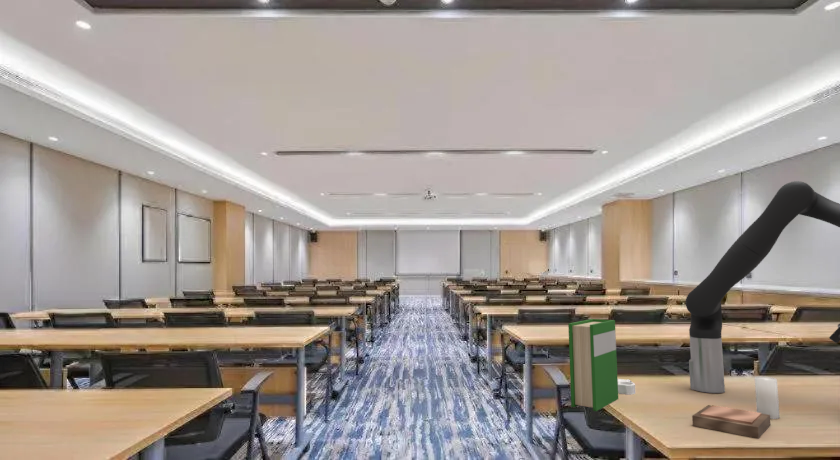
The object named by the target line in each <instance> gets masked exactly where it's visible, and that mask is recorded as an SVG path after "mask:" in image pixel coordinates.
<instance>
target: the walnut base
mask: <svg viewBox="0 0 840 460" xmlns="http://www.w3.org/2000/svg"><path fill="white" fill-rule="evenodd" d="M691 418H692V427H697V428H702V429H708V430H712V431H717V432H718V431H719V432H723V433H728V434H733V435H739V436H743V437H744V436H745V437H750V438H755V439H760V438H761V436H762V435H763V434H764V433H765V432H766V431H767V430H768V428H769V427H770V426H771V424H772V423H771V419H770V415H767V414H761V413H758V412H757V411H752V410H745V409H740V408H732V407H726V406H720V405H710V404H708V405H706V406H704V407H703V408H702V409H700V410H699V411H697V412H696V413H694V414H692V415H691Z"/></svg>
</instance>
